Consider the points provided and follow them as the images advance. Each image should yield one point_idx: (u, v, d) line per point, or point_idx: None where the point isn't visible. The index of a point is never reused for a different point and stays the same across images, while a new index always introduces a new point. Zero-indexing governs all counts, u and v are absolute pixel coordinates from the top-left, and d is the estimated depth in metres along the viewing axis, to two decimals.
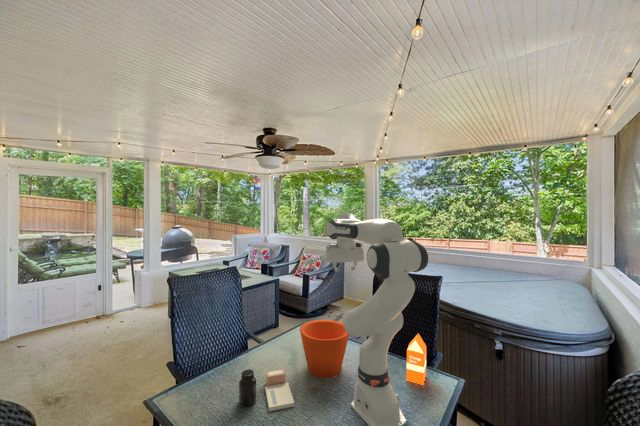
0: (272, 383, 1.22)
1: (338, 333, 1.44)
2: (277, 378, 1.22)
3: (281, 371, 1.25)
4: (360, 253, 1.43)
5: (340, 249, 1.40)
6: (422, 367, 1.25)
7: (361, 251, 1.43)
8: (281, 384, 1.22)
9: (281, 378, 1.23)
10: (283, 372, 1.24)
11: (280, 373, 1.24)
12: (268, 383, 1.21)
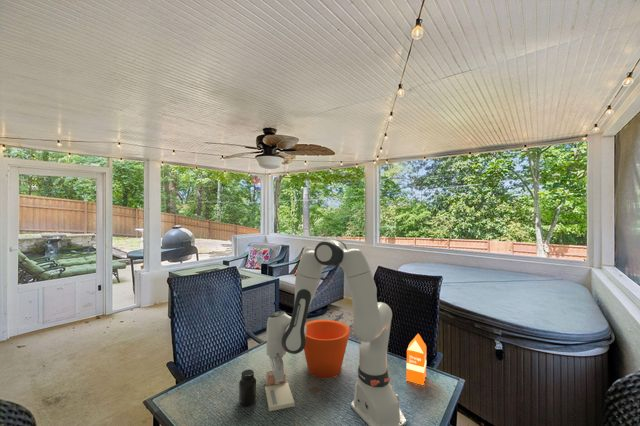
0: (272, 383, 1.22)
1: (338, 333, 1.44)
2: None
3: None
4: None
5: (281, 357, 1.22)
6: (422, 367, 1.25)
7: None
8: (281, 384, 1.22)
9: None
10: None
11: None
12: (268, 383, 1.21)
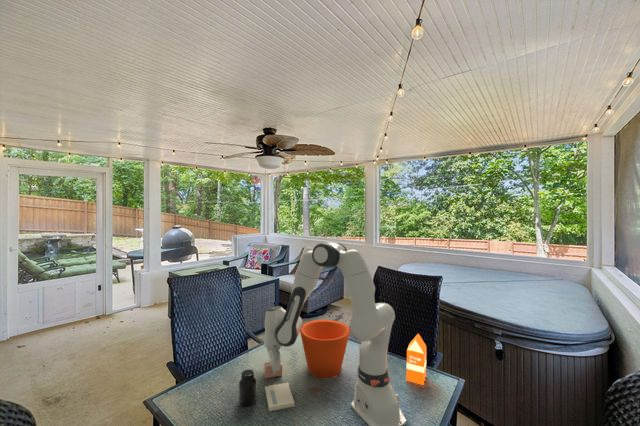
0: (270, 373, 1.29)
1: (338, 333, 1.44)
2: None
3: None
4: None
5: (278, 349, 1.29)
6: (422, 367, 1.25)
7: None
8: (281, 384, 1.22)
9: None
10: None
11: None
12: (266, 373, 1.29)
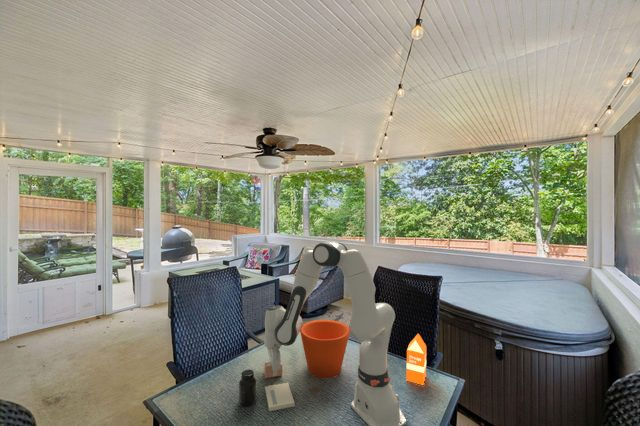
0: (270, 373, 1.29)
1: (338, 333, 1.44)
2: None
3: None
4: None
5: (278, 348, 1.29)
6: (422, 367, 1.25)
7: None
8: (281, 384, 1.22)
9: None
10: None
11: None
12: (266, 373, 1.29)
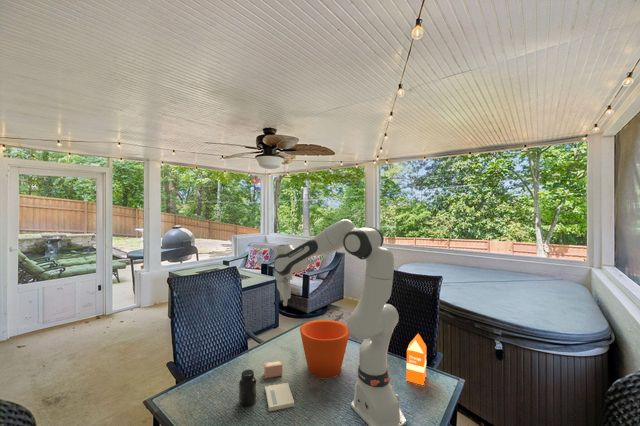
0: (270, 373, 1.29)
1: (338, 333, 1.44)
2: (274, 368, 1.30)
3: (278, 362, 1.33)
4: None
5: None
6: (422, 367, 1.25)
7: None
8: (281, 384, 1.22)
9: (278, 369, 1.30)
10: (280, 363, 1.32)
11: (277, 364, 1.31)
12: (266, 373, 1.29)
